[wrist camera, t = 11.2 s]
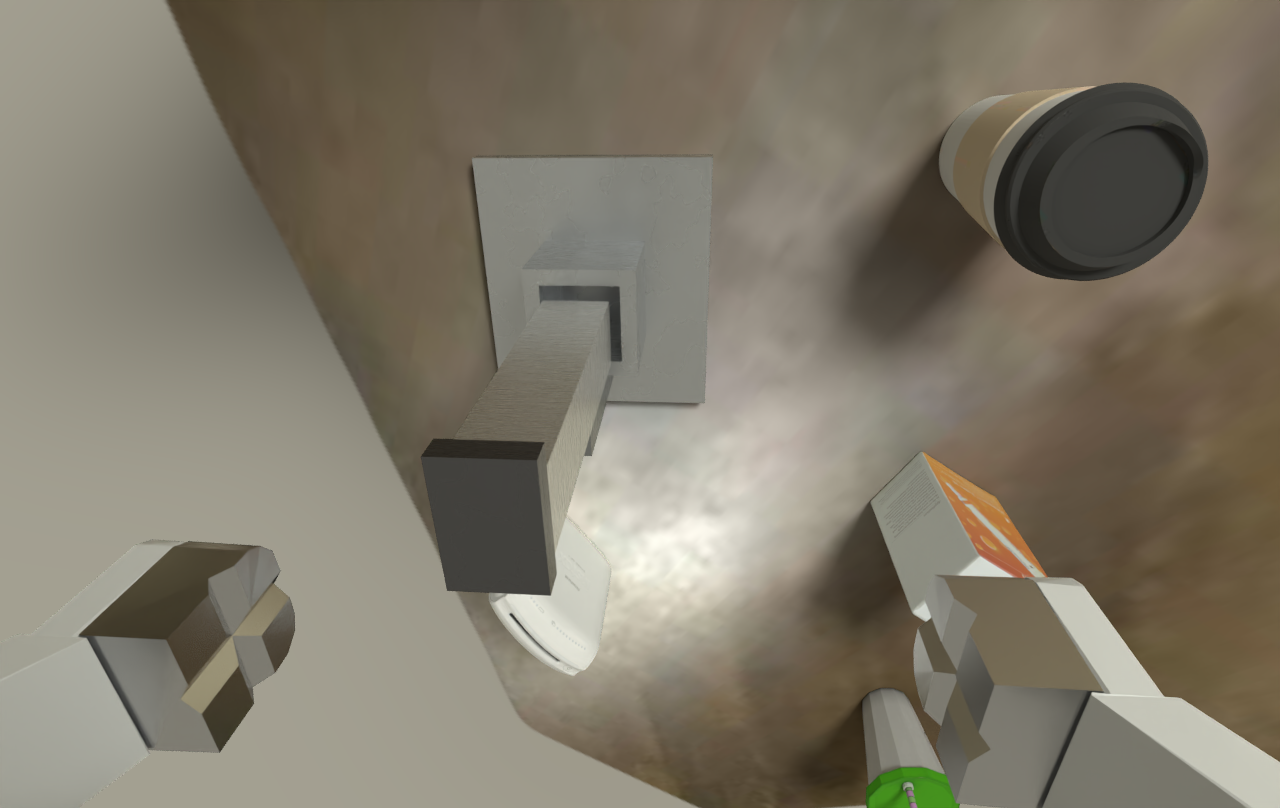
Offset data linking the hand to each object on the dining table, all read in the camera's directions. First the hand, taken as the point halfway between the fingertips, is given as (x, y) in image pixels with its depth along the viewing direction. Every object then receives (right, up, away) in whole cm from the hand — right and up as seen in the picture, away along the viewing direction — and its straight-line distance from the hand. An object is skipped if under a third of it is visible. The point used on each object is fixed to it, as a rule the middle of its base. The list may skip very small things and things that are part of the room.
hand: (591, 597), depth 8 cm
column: (-3, +7, +33) cm, 33 cm away
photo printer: (-6, -10, +53) cm, 54 cm away
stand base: (-2, +11, +41) cm, 42 cm away
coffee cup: (+23, +19, +35) cm, 46 cm away
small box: (+25, -5, +47) cm, 54 cm away
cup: (+25, -28, +59) cm, 70 cm away
